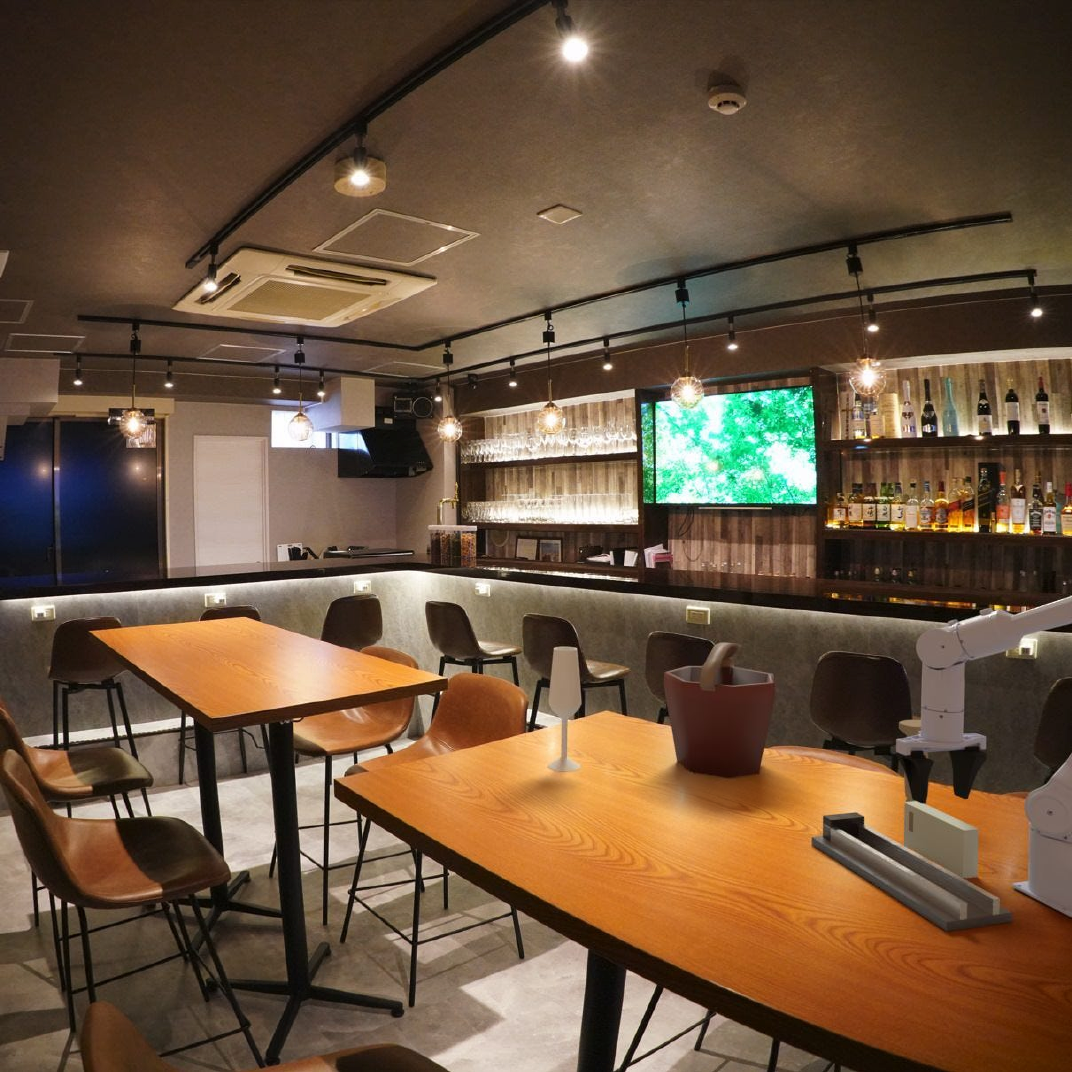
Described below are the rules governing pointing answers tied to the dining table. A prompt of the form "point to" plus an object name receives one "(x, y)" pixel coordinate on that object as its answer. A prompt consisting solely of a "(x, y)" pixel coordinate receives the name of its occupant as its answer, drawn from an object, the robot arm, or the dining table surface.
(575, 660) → the champagne flute
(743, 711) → the bucket
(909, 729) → the handle
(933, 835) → the door panel
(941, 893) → the rail
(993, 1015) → the dining table surface
